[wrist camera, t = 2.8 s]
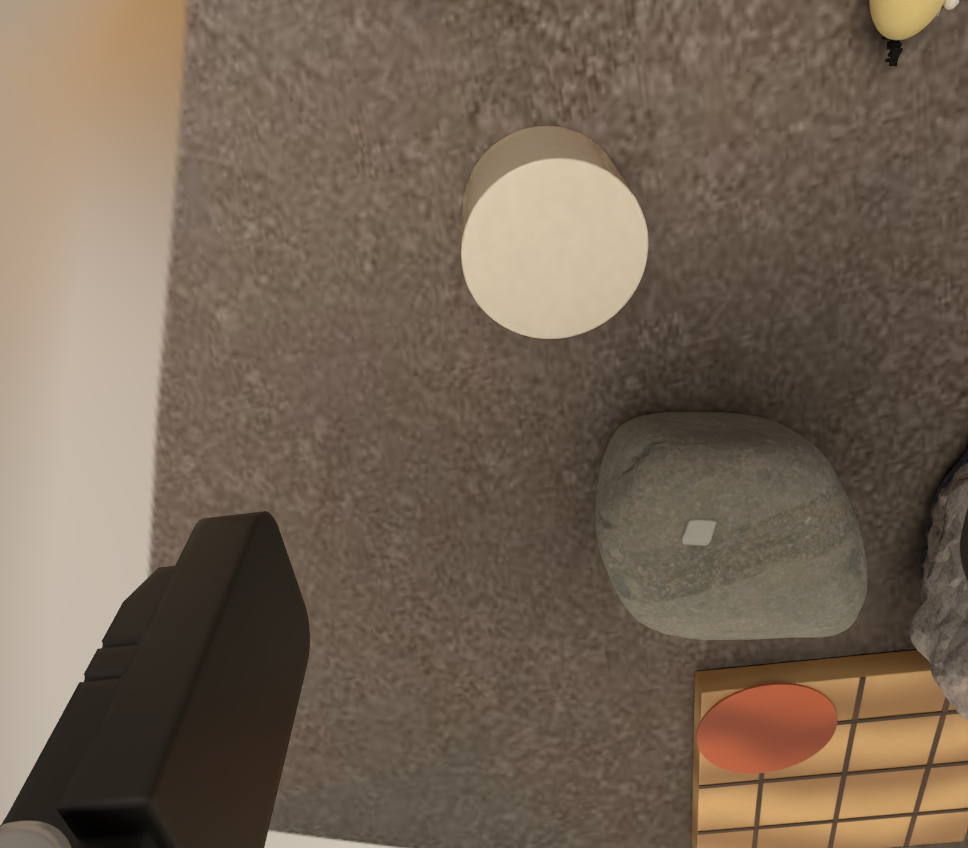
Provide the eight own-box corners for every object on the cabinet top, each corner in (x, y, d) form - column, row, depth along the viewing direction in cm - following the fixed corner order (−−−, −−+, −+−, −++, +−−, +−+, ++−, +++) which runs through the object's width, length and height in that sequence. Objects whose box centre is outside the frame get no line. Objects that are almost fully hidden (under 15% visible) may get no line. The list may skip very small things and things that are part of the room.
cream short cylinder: (450, 137, 23) (447, 172, 20) (620, 114, 23) (647, 145, 19) (473, 295, 26) (474, 349, 22) (626, 275, 25) (650, 328, 22)
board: (690, 668, 35) (697, 692, 34) (1012, 636, 35) (1029, 659, 33) (687, 842, 43) (693, 866, 42) (951, 819, 42) (964, 843, 41)
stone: (586, 617, 33) (622, 726, 23) (567, 410, 33) (596, 431, 23) (798, 599, 33) (926, 701, 23) (784, 389, 32) (909, 401, 22)
